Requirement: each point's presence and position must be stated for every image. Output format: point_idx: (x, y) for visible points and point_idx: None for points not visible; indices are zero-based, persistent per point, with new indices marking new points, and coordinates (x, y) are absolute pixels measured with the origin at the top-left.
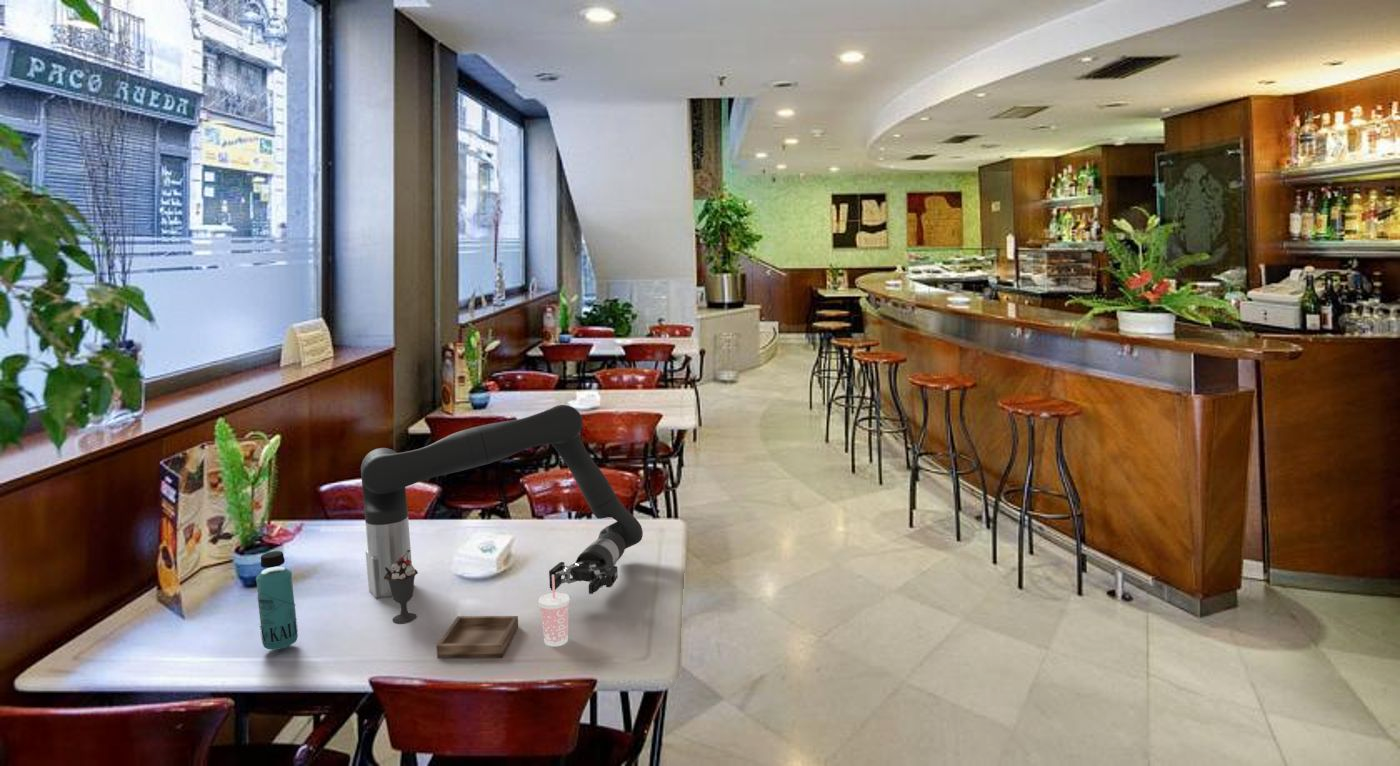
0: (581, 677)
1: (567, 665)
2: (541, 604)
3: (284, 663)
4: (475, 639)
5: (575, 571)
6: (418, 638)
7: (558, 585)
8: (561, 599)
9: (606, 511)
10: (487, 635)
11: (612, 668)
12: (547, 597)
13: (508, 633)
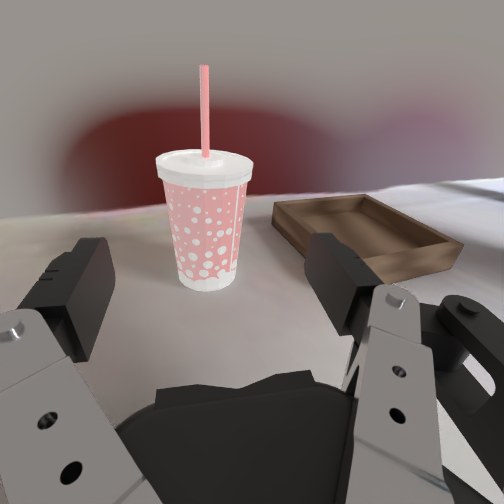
0: (108, 211)
1: (144, 225)
2: (225, 154)
3: (484, 193)
4: (357, 234)
5: (310, 374)
6: (453, 237)
7: (326, 303)
8: (181, 162)
9: None
10: (353, 245)
11: (46, 230)
12: (233, 165)
13: (298, 224)
